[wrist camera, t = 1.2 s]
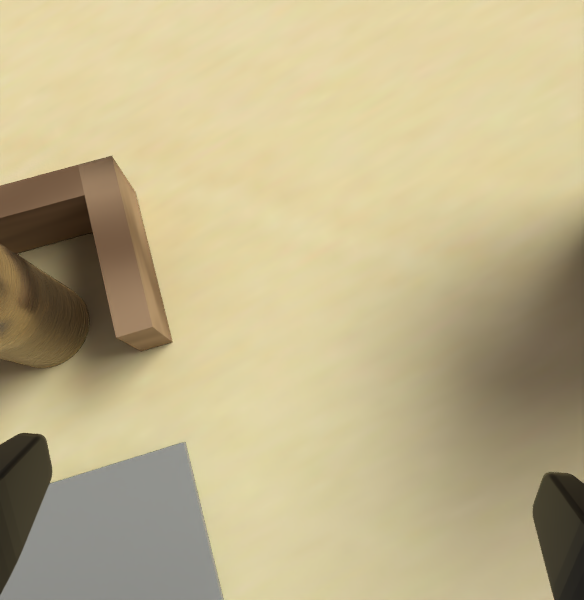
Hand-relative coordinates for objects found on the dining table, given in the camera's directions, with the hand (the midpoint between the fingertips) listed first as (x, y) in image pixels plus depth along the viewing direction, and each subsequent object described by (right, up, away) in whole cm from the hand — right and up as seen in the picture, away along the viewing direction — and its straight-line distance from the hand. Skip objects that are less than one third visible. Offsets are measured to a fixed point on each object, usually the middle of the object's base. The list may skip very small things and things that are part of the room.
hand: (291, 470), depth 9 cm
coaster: (-8, -9, +12) cm, 17 cm away
